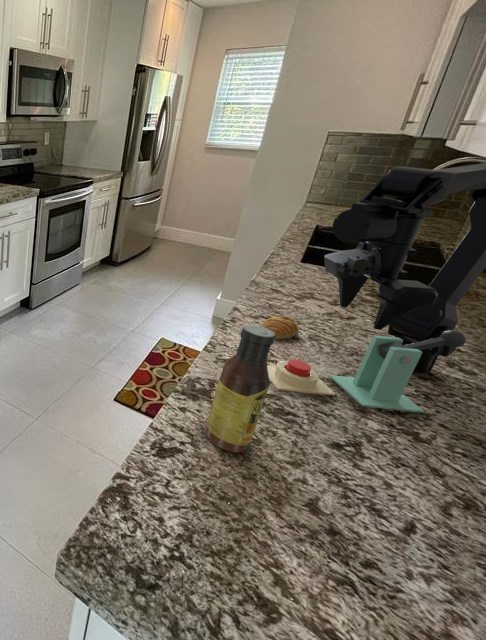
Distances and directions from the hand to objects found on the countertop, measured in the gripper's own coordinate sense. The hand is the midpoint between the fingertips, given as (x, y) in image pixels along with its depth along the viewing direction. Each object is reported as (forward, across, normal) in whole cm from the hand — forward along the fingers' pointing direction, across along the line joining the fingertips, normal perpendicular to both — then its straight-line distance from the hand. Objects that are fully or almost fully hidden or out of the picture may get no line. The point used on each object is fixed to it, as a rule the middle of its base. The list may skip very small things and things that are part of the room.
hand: (359, 317), depth 79 cm
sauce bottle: (+13, +23, -30) cm, 40 cm away
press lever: (+3, +6, +7) cm, 10 cm away
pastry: (+14, -17, -3) cm, 22 cm away
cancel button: (+11, +4, -10) cm, 16 cm away
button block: (+13, +4, -10) cm, 18 cm away
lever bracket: (+14, +6, +2) cm, 15 cm away
